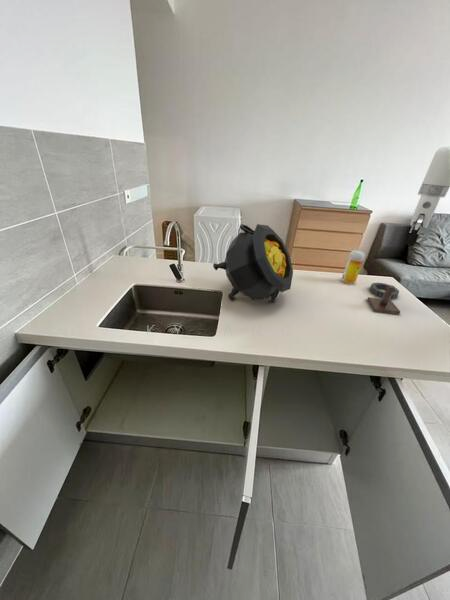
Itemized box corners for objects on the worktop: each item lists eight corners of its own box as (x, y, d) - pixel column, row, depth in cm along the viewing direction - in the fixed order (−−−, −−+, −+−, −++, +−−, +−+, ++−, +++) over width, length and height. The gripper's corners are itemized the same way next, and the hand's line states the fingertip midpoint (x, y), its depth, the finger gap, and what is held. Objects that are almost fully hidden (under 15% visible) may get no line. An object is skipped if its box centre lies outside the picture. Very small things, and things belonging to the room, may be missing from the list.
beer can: (357, 284, 114) (368, 254, 107) (344, 284, 114) (354, 254, 106) (351, 279, 120) (361, 249, 112) (339, 278, 119) (348, 249, 112)
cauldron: (247, 263, 118) (293, 240, 104) (251, 316, 106) (304, 299, 92) (206, 235, 99) (255, 203, 84) (206, 297, 87) (264, 271, 72)
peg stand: (389, 302, 102) (398, 282, 97) (398, 314, 94) (409, 293, 89) (366, 300, 103) (375, 280, 98) (374, 311, 95) (383, 290, 90)
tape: (390, 288, 113) (392, 284, 111) (401, 300, 103) (403, 295, 102) (366, 286, 114) (368, 281, 113) (374, 297, 105) (376, 292, 103)
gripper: (448, 194, 72) (420, 249, 81) (446, 190, 85) (422, 238, 94) (418, 191, 76) (395, 244, 85) (420, 187, 88) (400, 234, 97)
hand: (409, 241), depth 89 cm, fingers open, 9 cm apart
